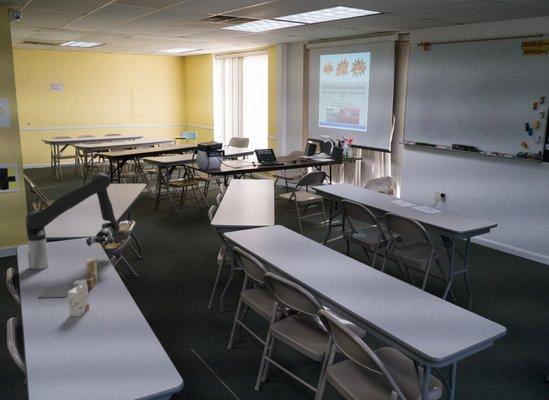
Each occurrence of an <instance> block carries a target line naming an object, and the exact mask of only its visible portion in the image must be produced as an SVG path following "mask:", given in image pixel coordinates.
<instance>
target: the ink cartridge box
mask: <svg viewBox="0 0 549 400" xmlns="http://www.w3.org/2000/svg"><path fill="white" fill-rule="evenodd" d="M81 285H83V286H81ZM67 297H68V298H67V299H68V309H69V316H71V317H81V316H82V315H83V314H84V313H86V312H87V311H88V310H89V309H90V303H89V302H90V301H89V299H90V298H89V289H88V286H87V281H84V282H82V283H81V284H79V285H78V286H76V287H75V288H73V289H72V290H70V291H69V292H68V295H67Z"/></svg>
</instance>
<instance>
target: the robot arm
mask: <svg viewBox="0 0 549 400" xmlns="http://www.w3.org/2000/svg"><path fill="white" fill-rule="evenodd" d="M110 185H111V178H110V176H108V175H107V174H105V173H104V172H101V171H98V172H97V171H96V172H95V173H94V174H93V175H92V177H91V181H90V182H88V183H87V184H85V185H82V186H79V187H76V188H73V189H71V190H68V191H67V192H66V191H65V193H63V194H61V195H59V196H58V197H57V198H56V199H54V201H53V202H51V204H50V205H48V206H47V207H45V208H43V209H41V210H39V211H38V210H32V211H31V210H30V211H29V212H28V213H27V214H26V215H25V226H26V236H27V243H28V252H27V258H28V260H27V261H28V268H29V270H35V271H39V270H44V269H46V268H48V267H49V260H48V258H49V257H48V248H47V247H48V246H47V235H46V229H45V226H46V225H47V224H48V223H49V222H50V221H52V220H53V219H55V218H56V217H57V216H60V215H62V214H64V213H65V212H67V211H69V210H71V209H72V208H74V207H76V206H78V205H79V204H80V203H82V202H84V201H85V200H87V199H88V198H90V197H92V196H94V195H97V198H98V205H99V208H100V214H101V218H102V220H103V221H106V222H104V223H102V225H101V229H100V230H99V231H98V232H97V234H96V235H95V236H94V237H92V236H90V237H89V236H88V237H87V238H86V245H87V246H88V247H91V246H92V245H97V244H101V245H104V246H105V247H106V246H107V245H109V244H113V243H114V241H115V240H114V239H115V238H114V236H113V235H114V234H118V233H119V231H120V225H119V223H118V221H117V219H116V216H115V214H114V210H113V204H112V201H111V199H110V196H109V194H108V188H109V186H110ZM107 221H108V222H107Z"/></svg>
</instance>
